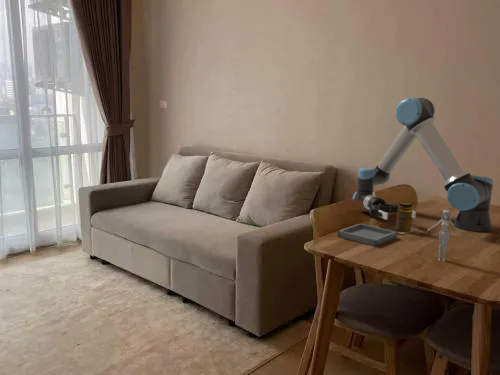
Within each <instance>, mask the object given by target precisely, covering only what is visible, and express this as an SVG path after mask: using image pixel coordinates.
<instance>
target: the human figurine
mask: <svg viewBox="0 0 500 375" xmlns="http://www.w3.org/2000/svg"><path fill="white" fill-rule="evenodd" d="M451 218H452V211H451V210H449V209H443V211H442V217H441V219H440V220H439V221H437V223H436V224H433V225H432V226H431V227H430V228H428V229H427V231H426V232H427V233H428V232H429V231H430V230H431V229H433V228H435V227H437V226H438V225H441V227H442V228H441V229H440V230H439V232H438V242H439V245H438V248H439V249H438V259H437V260H438V261H439V262H440V261H442V262H445V261H446V253H447V244H448V243H449V239H450V235H451V233H450V230H448V228H449V227H450V226H451V227H453V229H454V230H455V231H456V232H457V233H458V234H459V235H460V236H461V237H462V238H463V237H464V236H463V234H462V233H461V232H460V231H459V230H458V229H459V228H458V227H456V226H455V225H454V223H453V222H452V220H451ZM442 250H443V253H442ZM442 254H443V257H441V256H442ZM441 258H442V260H441Z"/></svg>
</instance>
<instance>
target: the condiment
mask: <svg viewBox="0 0 500 375" xmlns="http://www.w3.org/2000/svg"><path fill="white" fill-rule="evenodd" d="M398 205H399V208H398V210H397V213H396V223H395V228H394V227H393V228H388V229H387V230H391V231H395V232H397V234H400V235H402V234H409V233H414V232H415V230H412V229H411V228H412V219H413V218H412V211H413V204H412V203H411V202H407V201H406V202H405V201H401V202H399V203H398Z"/></svg>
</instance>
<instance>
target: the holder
mask: <svg viewBox="0 0 500 375" xmlns="http://www.w3.org/2000/svg"><path fill="white" fill-rule="evenodd" d="M397 234H398V233H397V232H395V231H391V230H388V229H386V228H383V227H377V226H372V225H369V224H365V223H364V224H363V223H356V224H354V225H352V226H349V227H348V226H347V227H345V228H343V229H340V230H337V238H340V237H341V239H344V238H345V239H344V240H348V239H349V240H348V241H352V242H355V241H356V243H360V244H364V245H368V246H371V247H379V246H381V245H383V244H385V243H387V242H390V241H392V240H394V239H397V237H398V236H397Z"/></svg>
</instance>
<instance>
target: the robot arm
mask: <svg viewBox="0 0 500 375" xmlns="http://www.w3.org/2000/svg"><path fill="white" fill-rule="evenodd" d="M434 105H435V104H433V102H432V101H431V100H430V99H428V98H425V97H409V98H405V99H403V100H401V101H400V102H398V104H397V106H396V108H395V109H396V110H395V118H396V120H397V122H398V123H399V124H401V125H403V127H402V129H401V130H400V132H398V134H397V135H396V137H395V138H394V140H393V141H392V143H391V145H390V146H389V148H388V149H387V150H386V152H385V153H384V155H383V156H382V157H381V159H380V160H379V162H378V164H377V165H376V166H375V168H373V167H367V166H366V167H365V166H364V167H363V166H362V167H360V168H359V169H358V174H357V186H356V188H357V190H356V191H355V192H354V194H353V195H352V200H353V199H355V200H359V201H361V202H362V203H363V205H364V207H365V208H366V209H367V212H368V213H369V215H370V216H371V217H372V216H374V218H378V217H379V218H381V219H384V220H386V221H388V219H389V214H390V213H391V214H393V213H396V214H397V210H398V208H399V204H395V203H392V204H388V203H386V201H385V199H383V198H381V197H378V196H376V195H374V186H379V185H384V184H385V183H387V182H388V181H389V180H390V176H391V175H390V174H391V173H392V171H393V170H394V169H395V167H396V166H397V165H398V163H399V162H400V161H401V159H402V158H403V157H404V155H405V154H406V152H407V151H408V149H409V148H410V146H412V144H413V143H414V141H415V140H416V139H418V140H417V141H419V143H420V145H421V146H422V148H423V149H424V150H425V152H426V154H427V156H428V157H429V159H430V160H431V162H432V163H433V166H434V167H435V168H436V171H438V173H439V174H440V176H441V179H442V180H443V181H444V183H443V188H444V189H445V191H446V199H447V202H448V204H449V205H450V206H451V207H452V208H453V209H455V210H458V213H457V214H456V217H455V219H454V223H453V225H454V227H456V228H457V229H462V230H466V231H472V232H481V233H482V232H484V233H485V232H490V231H492V228H493V227H492V226H493V223H492V219H491V214H490V210H491V209H490V207H491V200H492V194H493V192H492V190H493V187H494V180H493V178H491V177H489V176H488V177H487V176H479V175H471V173H470V172H468V171H465V170H464V169H463V167H462V166H461V165H460V163H459V161H458V160H457V158H456V157H455V155H454V154H453V152H452V151H451V149H450V148H449V146H448V145H447V143H446V141H445V140H444V138H443V137H442V135H441V133H440V131H439V129H437V127H436V126H435V124H434V122H435V114H436V113H435V112H436V109H435V106H434ZM366 209H365V210H366ZM416 215H417V212H416V211H414V210H412V219H416V218H417V216H416Z"/></svg>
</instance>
